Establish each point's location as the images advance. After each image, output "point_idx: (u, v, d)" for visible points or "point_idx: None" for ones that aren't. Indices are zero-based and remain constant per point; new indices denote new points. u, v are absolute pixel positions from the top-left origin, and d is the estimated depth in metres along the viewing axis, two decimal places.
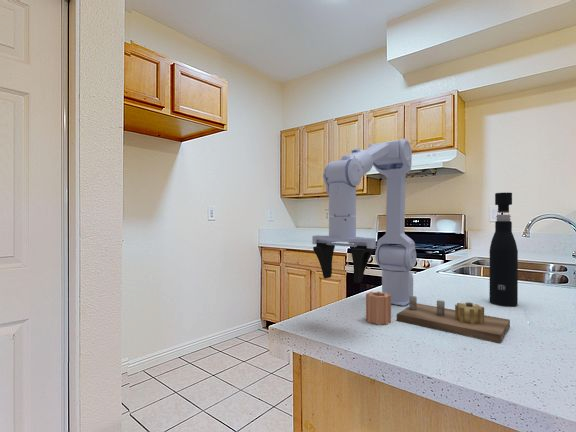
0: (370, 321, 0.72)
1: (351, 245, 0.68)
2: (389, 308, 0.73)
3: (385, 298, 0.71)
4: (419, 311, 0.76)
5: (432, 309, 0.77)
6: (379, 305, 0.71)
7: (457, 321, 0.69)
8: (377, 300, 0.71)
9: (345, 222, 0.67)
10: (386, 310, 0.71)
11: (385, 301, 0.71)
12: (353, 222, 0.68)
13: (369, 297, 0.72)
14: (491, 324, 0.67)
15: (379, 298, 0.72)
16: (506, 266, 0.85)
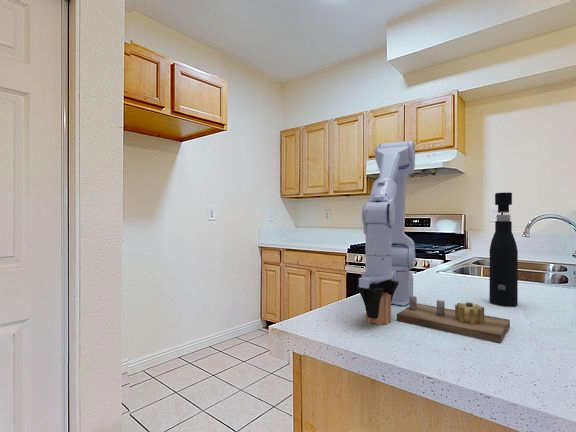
0: (370, 321, 0.72)
1: None
2: (389, 308, 0.73)
3: (385, 298, 0.71)
4: (419, 311, 0.76)
5: (432, 309, 0.77)
6: (379, 305, 0.71)
7: (457, 321, 0.69)
8: None
9: (366, 260, 0.74)
10: (386, 310, 0.71)
11: (385, 301, 0.71)
12: (371, 261, 0.72)
13: None
14: (491, 324, 0.67)
15: None
16: (506, 266, 0.85)
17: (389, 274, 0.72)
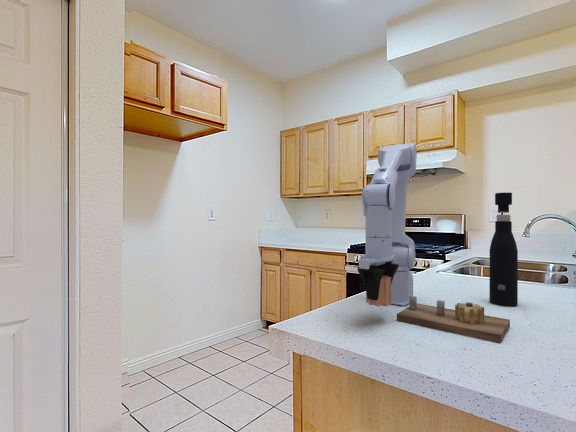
0: (370, 303, 0.72)
1: None
2: (389, 290, 0.73)
3: (385, 280, 0.71)
4: (419, 311, 0.76)
5: (432, 309, 0.77)
6: (379, 287, 0.71)
7: (457, 321, 0.69)
8: None
9: (366, 242, 0.74)
10: (386, 292, 0.71)
11: (385, 283, 0.71)
12: (371, 243, 0.72)
13: None
14: (491, 324, 0.67)
15: None
16: (506, 266, 0.85)
17: (389, 256, 0.72)
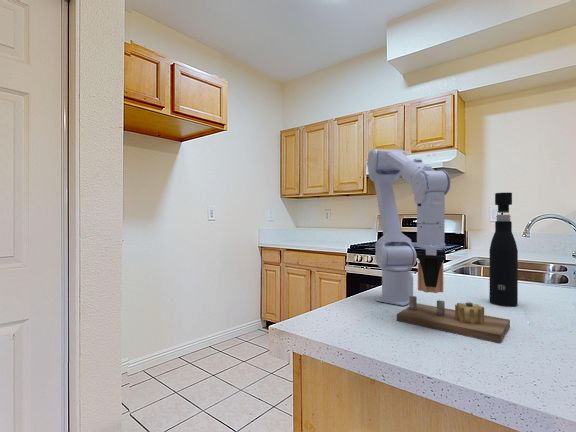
0: (427, 290, 0.71)
1: None
2: None
3: (441, 266, 0.72)
4: (419, 311, 0.76)
5: (432, 309, 0.77)
6: None
7: (457, 321, 0.69)
8: None
9: (420, 229, 0.72)
10: (442, 278, 0.72)
11: (441, 269, 0.72)
12: (429, 229, 0.71)
13: None
14: (491, 324, 0.67)
15: None
16: (506, 266, 0.85)
17: None
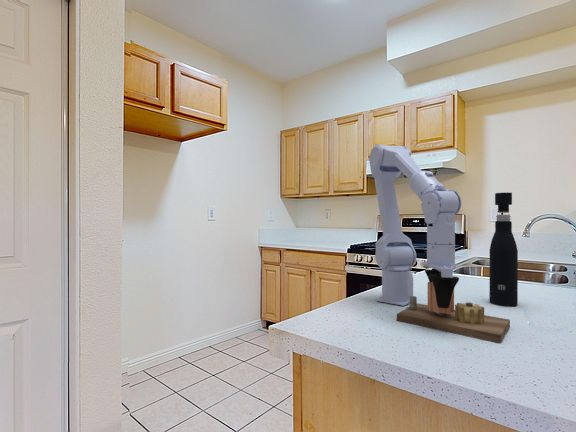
0: (439, 311, 0.71)
1: (441, 272, 0.71)
2: None
3: None
4: (419, 311, 0.76)
5: None
6: None
7: (457, 321, 0.69)
8: None
9: (432, 249, 0.72)
10: (453, 298, 0.72)
11: None
12: (442, 250, 0.71)
13: None
14: (491, 324, 0.67)
15: None
16: (506, 266, 0.85)
17: (454, 262, 0.72)
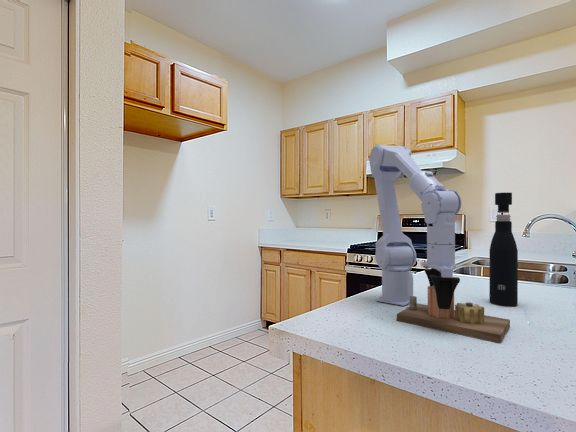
0: (439, 316, 0.71)
1: (441, 272, 0.71)
2: None
3: None
4: (419, 311, 0.76)
5: None
6: None
7: (457, 321, 0.69)
8: None
9: (432, 249, 0.72)
10: (453, 303, 0.72)
11: None
12: (442, 250, 0.71)
13: None
14: (491, 324, 0.67)
15: None
16: (506, 266, 0.85)
17: (454, 262, 0.72)
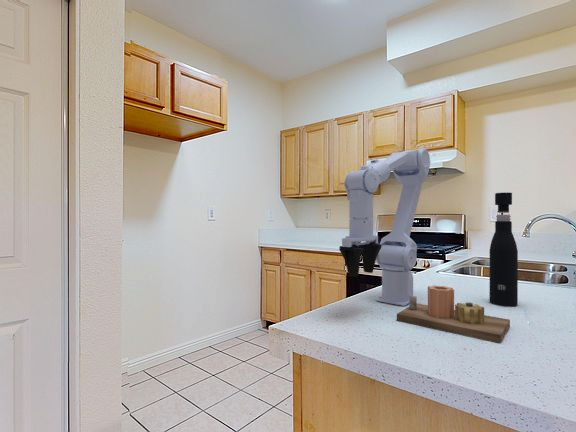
0: (439, 316, 0.71)
1: None
2: None
3: (452, 291, 0.72)
4: (419, 311, 0.76)
5: None
6: (448, 298, 0.71)
7: (457, 321, 0.69)
8: (447, 294, 0.71)
9: (349, 224, 0.80)
10: (453, 303, 0.72)
11: (452, 294, 0.72)
12: (354, 224, 0.78)
13: (438, 291, 0.71)
14: (491, 324, 0.67)
15: None
16: (506, 266, 0.85)
17: (370, 236, 0.78)
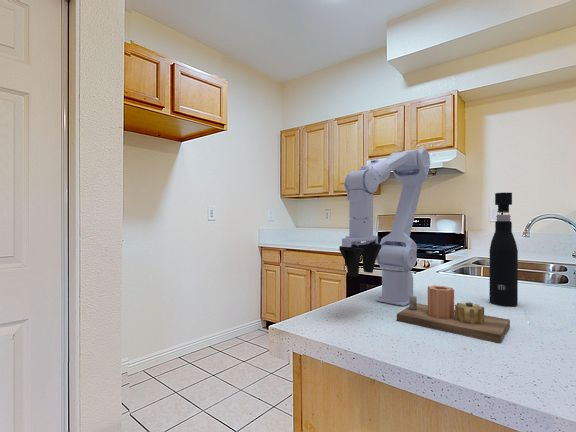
0: (439, 316, 0.71)
1: None
2: None
3: (452, 291, 0.72)
4: (419, 311, 0.76)
5: None
6: (448, 298, 0.71)
7: (457, 321, 0.69)
8: (447, 294, 0.71)
9: (349, 224, 0.80)
10: (453, 303, 0.72)
11: (452, 294, 0.72)
12: (354, 224, 0.78)
13: (438, 291, 0.71)
14: (491, 324, 0.67)
15: None
16: (506, 266, 0.85)
17: (370, 236, 0.78)
